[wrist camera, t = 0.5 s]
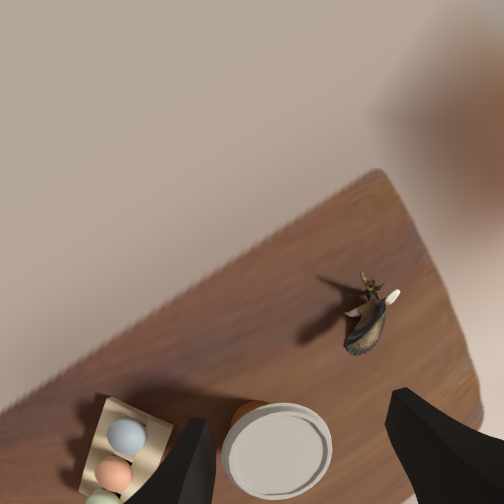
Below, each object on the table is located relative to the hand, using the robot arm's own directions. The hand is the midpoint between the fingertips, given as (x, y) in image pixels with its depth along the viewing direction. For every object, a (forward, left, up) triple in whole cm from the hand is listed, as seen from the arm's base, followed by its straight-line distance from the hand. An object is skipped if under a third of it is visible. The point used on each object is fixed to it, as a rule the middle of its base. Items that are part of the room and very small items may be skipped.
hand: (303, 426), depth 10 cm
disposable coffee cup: (-5, -4, -24) cm, 25 cm away
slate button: (-11, +9, -22) cm, 26 cm away
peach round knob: (-16, +9, -22) cm, 29 cm away
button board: (-16, +9, -24) cm, 30 cm away
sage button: (-22, +9, -22) cm, 32 cm away
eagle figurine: (+12, -13, -24) cm, 30 cm away
